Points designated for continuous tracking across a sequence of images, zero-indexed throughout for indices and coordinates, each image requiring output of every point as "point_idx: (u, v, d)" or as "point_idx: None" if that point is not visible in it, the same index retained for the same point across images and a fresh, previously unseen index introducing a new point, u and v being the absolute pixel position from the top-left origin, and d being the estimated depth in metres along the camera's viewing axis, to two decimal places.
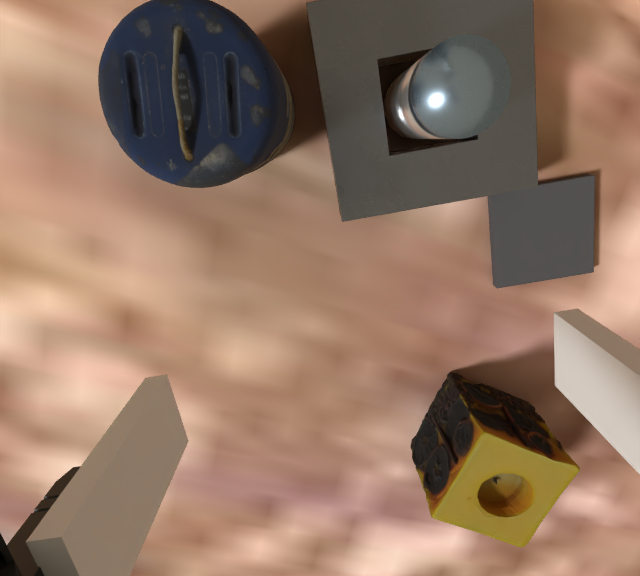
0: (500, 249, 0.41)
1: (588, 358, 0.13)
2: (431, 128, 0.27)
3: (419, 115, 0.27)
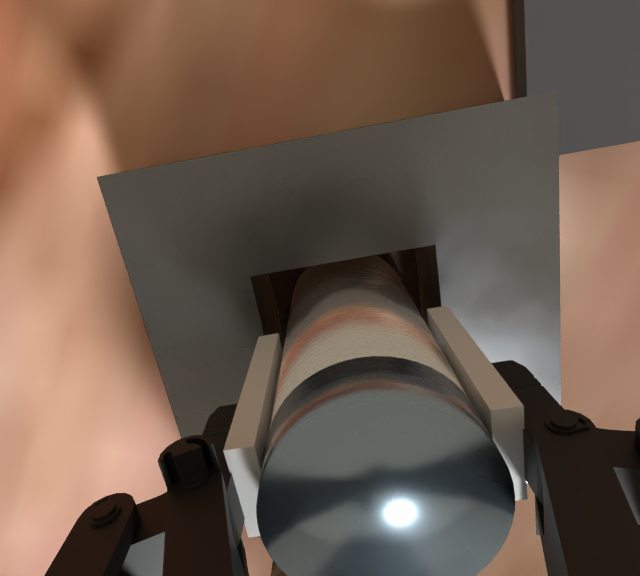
0: None
1: (442, 348, 0.15)
2: (478, 571, 0.10)
3: None
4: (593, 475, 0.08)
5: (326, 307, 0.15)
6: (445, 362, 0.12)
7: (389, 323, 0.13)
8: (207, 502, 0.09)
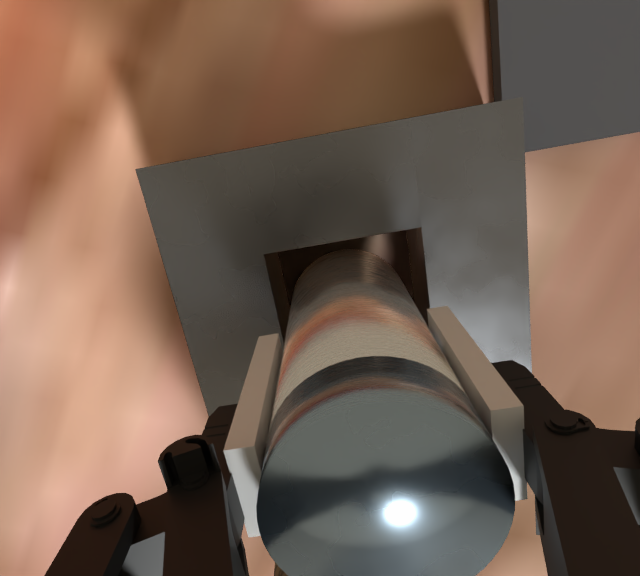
0: (615, 124, 0.21)
1: (442, 348, 0.15)
2: (478, 570, 0.10)
3: None
4: (593, 475, 0.08)
5: (326, 306, 0.15)
6: (445, 362, 0.12)
7: (389, 323, 0.13)
8: (207, 502, 0.09)
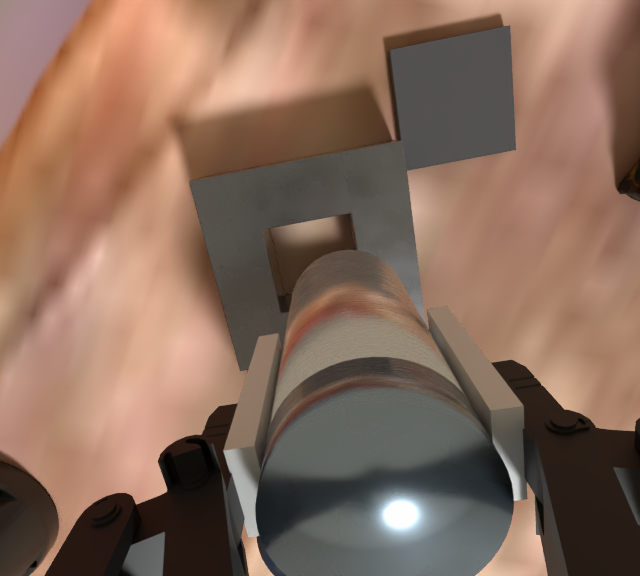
0: (468, 152, 0.36)
1: (442, 347, 0.15)
2: (476, 571, 0.10)
3: None
4: (593, 475, 0.08)
5: (325, 307, 0.15)
6: (444, 363, 0.12)
7: (388, 324, 0.13)
8: (207, 502, 0.09)
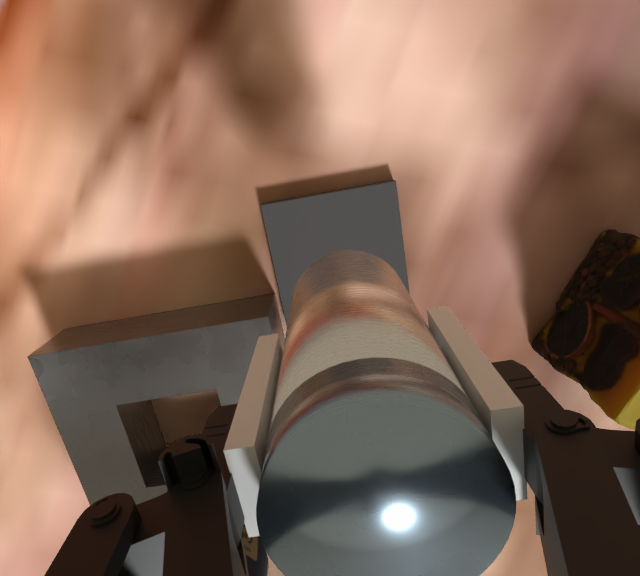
0: None
1: (442, 348, 0.15)
2: (479, 573, 0.10)
3: None
4: (593, 475, 0.08)
5: (326, 307, 0.15)
6: (445, 363, 0.12)
7: (389, 324, 0.13)
8: (207, 502, 0.09)
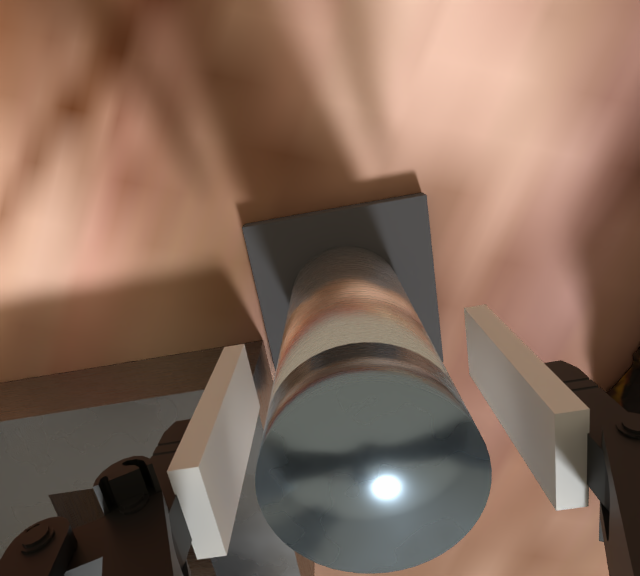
0: None
1: (484, 348, 0.14)
2: (458, 539, 0.11)
3: None
4: None
5: (322, 299, 0.16)
6: (432, 349, 0.13)
7: (380, 313, 0.14)
8: (147, 524, 0.09)
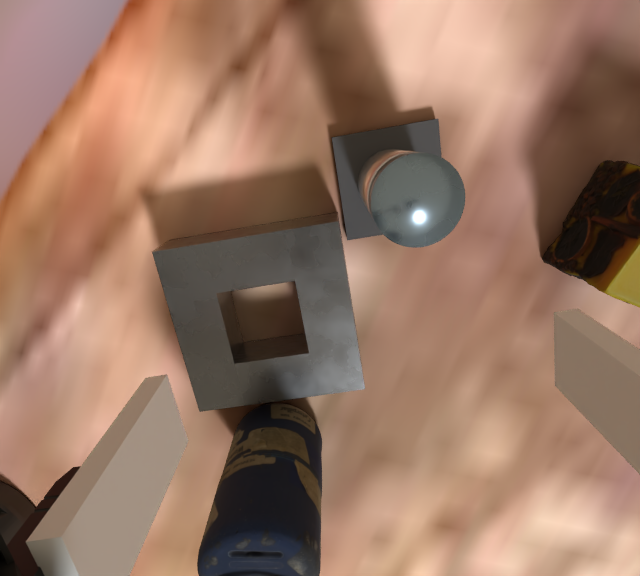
0: None
1: (589, 358, 0.13)
2: (451, 229, 0.27)
3: (438, 240, 0.28)
4: None
5: (387, 154, 0.32)
6: None
7: None
8: None
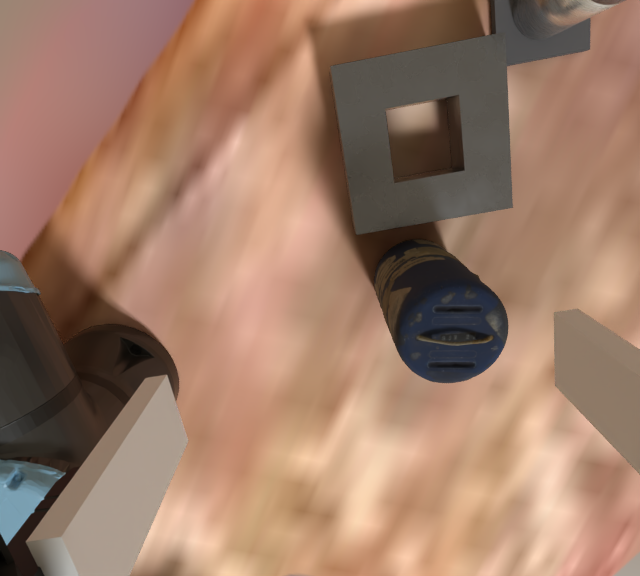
0: (551, 51, 0.44)
1: (588, 358, 0.13)
2: None
3: None
4: None
5: None
6: None
7: None
8: None
